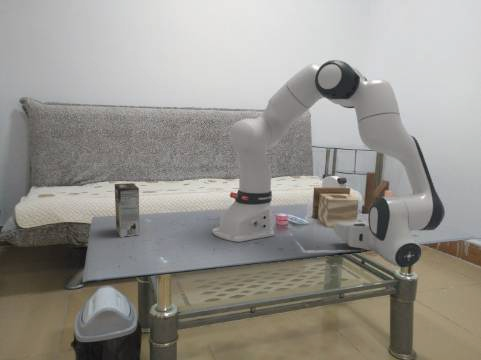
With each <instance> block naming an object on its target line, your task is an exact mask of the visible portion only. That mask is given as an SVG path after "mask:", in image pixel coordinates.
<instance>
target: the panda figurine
mask: <svg viewBox="0 0 481 360" xmlns="http://www.w3.org/2000/svg"><path fill="white" fill-rule="evenodd" d="M322 179H323V180H322V183H321V188H347V186H346V183H348V180H347V178H346V177H344V176H343V177H339V176H337V175H332V174H329V173H327V174H322Z"/></svg>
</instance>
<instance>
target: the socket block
mask: <svg viewBox="0 0 481 360" xmlns="http://www.w3.org/2000/svg"><path fill="white" fill-rule="evenodd" d="M358 210H359V198H356V197H354V196H353V195H351V194H350V195H348V194H320V193H319V206H318V218H317V220H319V221H320V223H323V224H324V225H325V226H326V227H329V228H332V227H333V228H335V224H336V223H337V222H354V221H358V214H359V213H358Z"/></svg>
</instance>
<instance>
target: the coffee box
mask: <svg viewBox="0 0 481 360" xmlns="http://www.w3.org/2000/svg"><path fill="white" fill-rule="evenodd" d="M139 189H140V188H139V187H138V186H137V185H136V184H135V183H114V201H115V203H114V204H115V208H114V209H115V229H116V231H117V234H118V235H119V237H120V238H126V237H125V236H129V237H135V236H134V235H138V236H140V190H139Z"/></svg>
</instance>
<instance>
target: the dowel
mask: <svg viewBox="0 0 481 360" xmlns="http://www.w3.org/2000/svg"><path fill="white" fill-rule="evenodd" d="M386 196H395V191H394V190H386V191H385V197H386Z"/></svg>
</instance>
